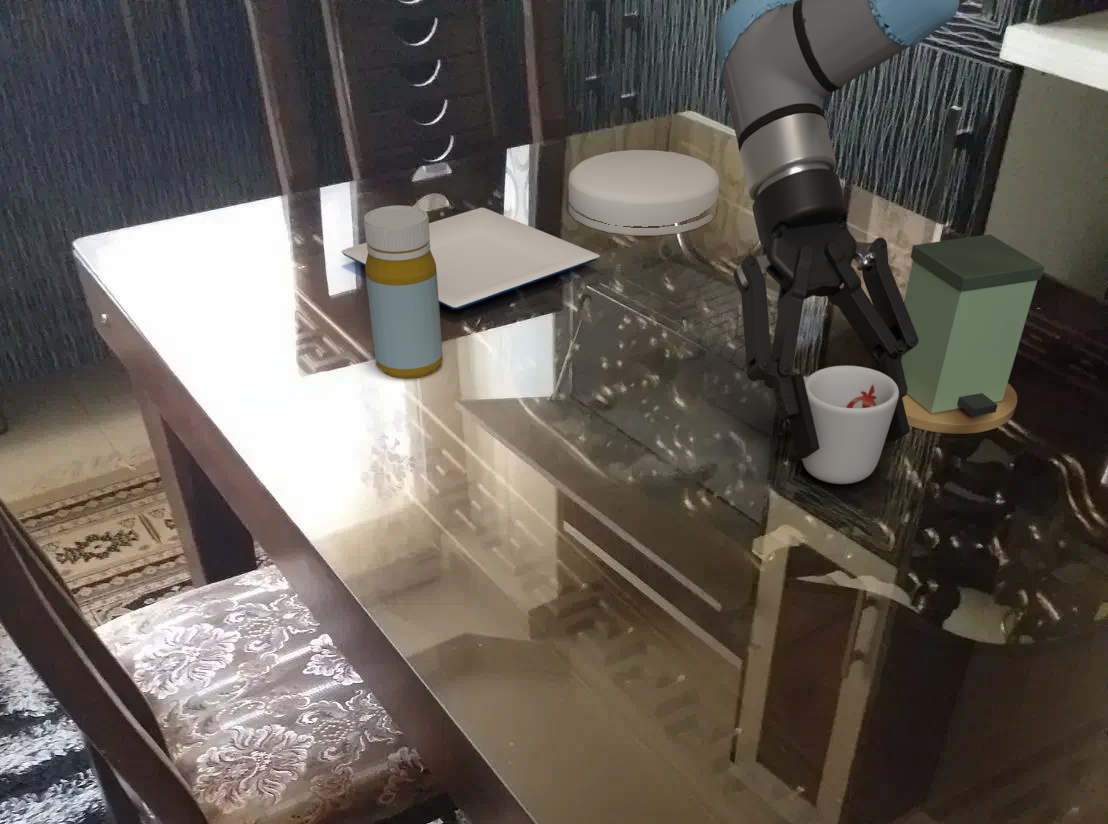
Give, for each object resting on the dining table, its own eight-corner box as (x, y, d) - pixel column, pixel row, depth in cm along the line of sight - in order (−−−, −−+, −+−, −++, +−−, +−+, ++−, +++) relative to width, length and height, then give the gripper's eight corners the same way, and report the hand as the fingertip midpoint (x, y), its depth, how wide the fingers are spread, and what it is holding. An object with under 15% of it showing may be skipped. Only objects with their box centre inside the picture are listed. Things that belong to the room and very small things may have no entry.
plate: (341, 266, 140) (339, 249, 138) (483, 222, 151) (482, 205, 149) (455, 324, 128) (454, 305, 126) (601, 271, 138) (601, 253, 137)
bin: (884, 377, 116) (912, 244, 107) (956, 365, 117) (990, 233, 108) (944, 426, 108) (979, 288, 99) (1020, 412, 110) (1061, 276, 101)
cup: (750, 456, 105) (759, 374, 99) (808, 425, 108) (820, 344, 102) (843, 504, 99) (858, 420, 93) (901, 470, 102) (919, 387, 96)
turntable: (978, 363, 120) (981, 354, 119) (1039, 427, 110) (1042, 418, 109) (850, 373, 119) (852, 363, 118) (900, 439, 109) (902, 429, 108)
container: (644, 248, 144) (646, 209, 141) (537, 207, 154) (536, 170, 151) (748, 209, 153) (752, 172, 150) (640, 174, 164) (642, 138, 161)
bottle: (454, 358, 122) (445, 209, 111) (422, 385, 117) (409, 233, 107) (397, 346, 124) (383, 199, 113) (363, 373, 119) (345, 223, 109)
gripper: (878, 196, 105) (934, 439, 105) (667, 223, 100) (727, 478, 100) (923, 150, 97) (983, 412, 97) (698, 177, 92) (762, 452, 93)
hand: (853, 445), depth 99 cm, fingers closed on cup, 8 cm apart
